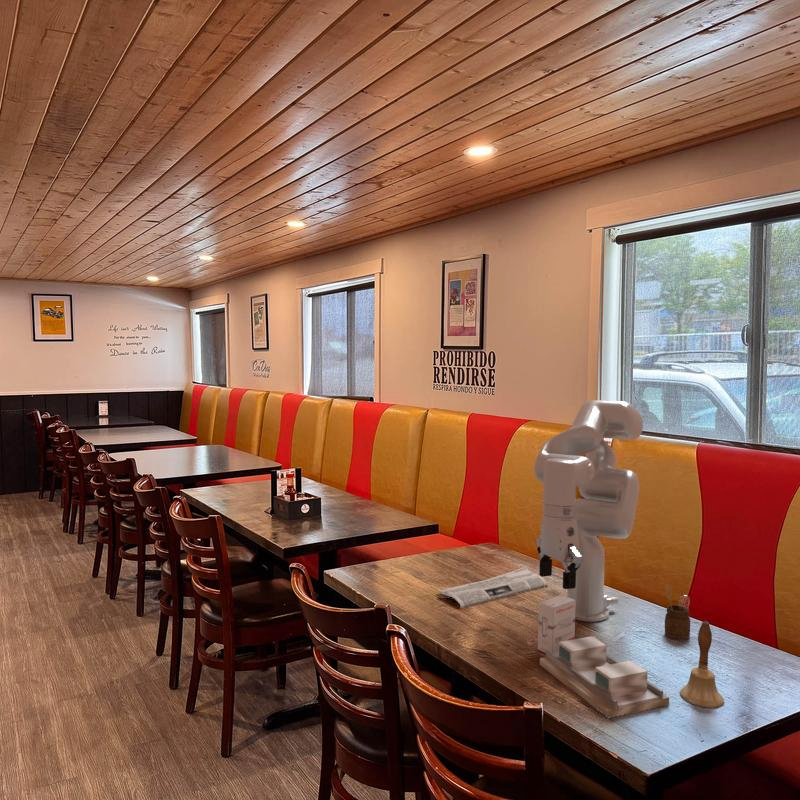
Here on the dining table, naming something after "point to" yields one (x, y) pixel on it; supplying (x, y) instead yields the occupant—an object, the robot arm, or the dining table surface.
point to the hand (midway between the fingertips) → (556, 582)
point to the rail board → (603, 678)
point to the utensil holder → (677, 619)
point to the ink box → (555, 622)
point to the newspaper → (494, 587)
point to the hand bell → (702, 676)
